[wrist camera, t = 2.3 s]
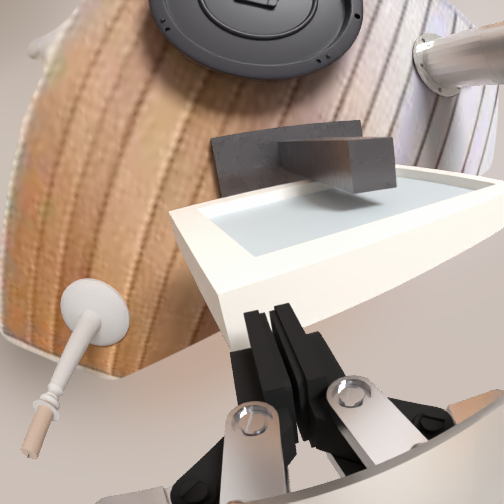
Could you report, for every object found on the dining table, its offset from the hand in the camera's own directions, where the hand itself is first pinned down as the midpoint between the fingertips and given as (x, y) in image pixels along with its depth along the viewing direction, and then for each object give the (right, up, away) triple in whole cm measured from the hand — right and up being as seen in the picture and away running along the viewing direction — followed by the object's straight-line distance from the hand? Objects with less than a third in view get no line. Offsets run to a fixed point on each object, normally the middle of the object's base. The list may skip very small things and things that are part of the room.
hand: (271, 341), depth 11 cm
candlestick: (-27, -7, +35) cm, 45 cm away
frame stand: (+5, +17, +32) cm, 36 cm away
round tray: (0, +41, +23) cm, 47 cm away
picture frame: (+5, +10, +23) cm, 26 cm away
